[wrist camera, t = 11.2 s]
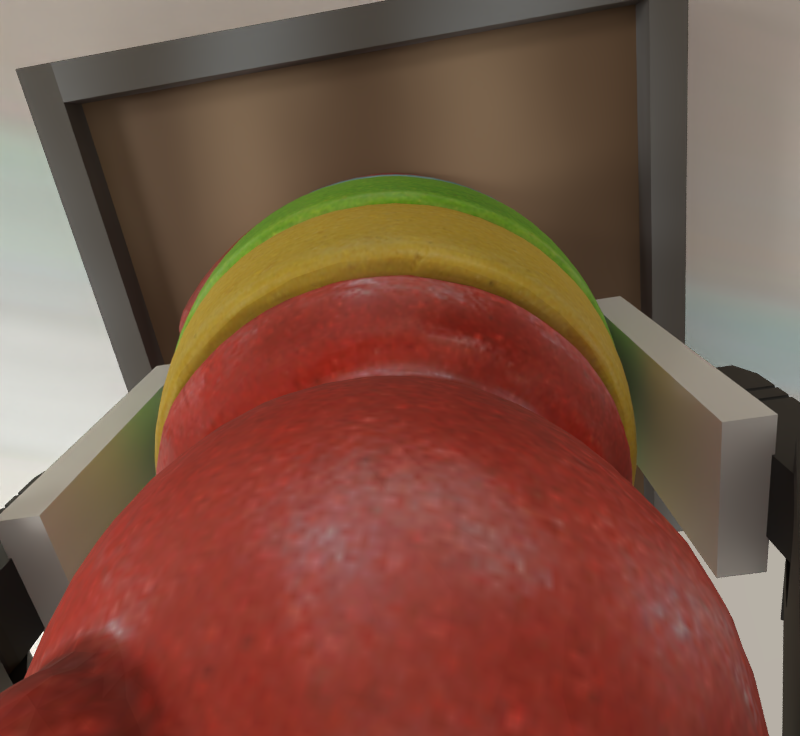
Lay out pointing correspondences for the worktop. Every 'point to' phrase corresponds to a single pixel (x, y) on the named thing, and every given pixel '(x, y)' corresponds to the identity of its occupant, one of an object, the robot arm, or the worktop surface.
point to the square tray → (374, 142)
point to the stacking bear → (391, 506)
